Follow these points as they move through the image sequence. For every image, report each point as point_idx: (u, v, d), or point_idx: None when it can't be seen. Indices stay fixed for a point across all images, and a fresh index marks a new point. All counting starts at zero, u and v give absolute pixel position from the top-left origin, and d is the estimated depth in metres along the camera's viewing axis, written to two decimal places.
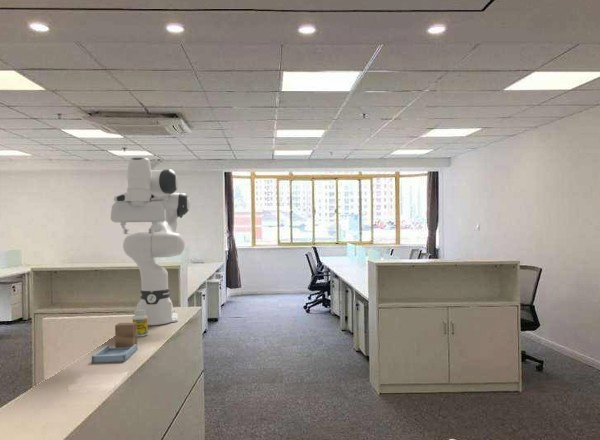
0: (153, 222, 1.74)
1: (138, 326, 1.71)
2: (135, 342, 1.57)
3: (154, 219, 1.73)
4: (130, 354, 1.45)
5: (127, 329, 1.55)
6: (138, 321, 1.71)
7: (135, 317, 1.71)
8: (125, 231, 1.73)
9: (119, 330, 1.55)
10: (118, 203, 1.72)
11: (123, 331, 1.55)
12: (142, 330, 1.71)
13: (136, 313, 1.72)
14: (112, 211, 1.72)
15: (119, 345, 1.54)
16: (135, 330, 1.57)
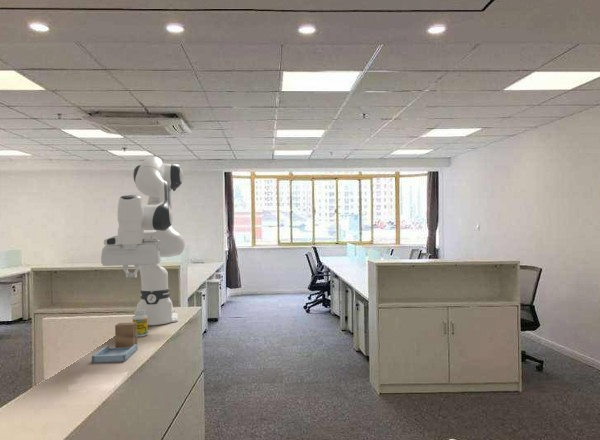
0: (136, 266, 1.63)
1: (138, 326, 1.71)
2: (135, 342, 1.57)
3: (147, 263, 1.63)
4: (130, 354, 1.45)
5: (127, 329, 1.55)
6: (138, 321, 1.71)
7: (135, 317, 1.71)
8: (128, 275, 1.63)
9: (119, 330, 1.55)
10: (108, 246, 1.61)
11: (123, 331, 1.55)
12: (142, 330, 1.71)
13: (136, 313, 1.72)
14: (102, 255, 1.61)
15: (119, 345, 1.54)
16: (135, 330, 1.57)
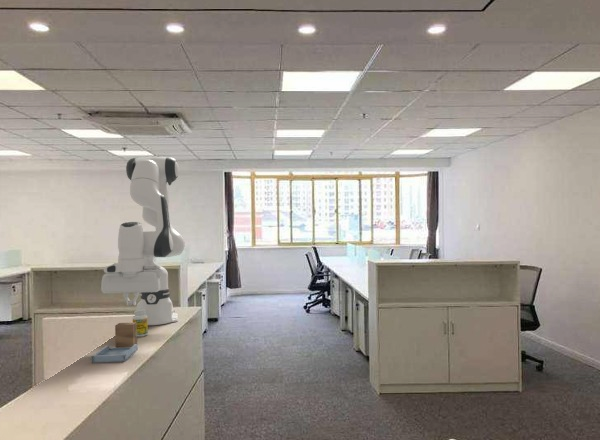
0: (135, 293, 1.62)
1: (138, 326, 1.71)
2: (135, 342, 1.57)
3: (147, 290, 1.62)
4: (130, 354, 1.45)
5: (127, 329, 1.55)
6: (138, 321, 1.71)
7: (135, 317, 1.71)
8: (128, 303, 1.62)
9: (119, 330, 1.55)
10: (108, 274, 1.60)
11: (123, 331, 1.55)
12: (142, 330, 1.71)
13: (136, 313, 1.72)
14: (102, 282, 1.61)
15: (119, 345, 1.54)
16: (135, 330, 1.57)
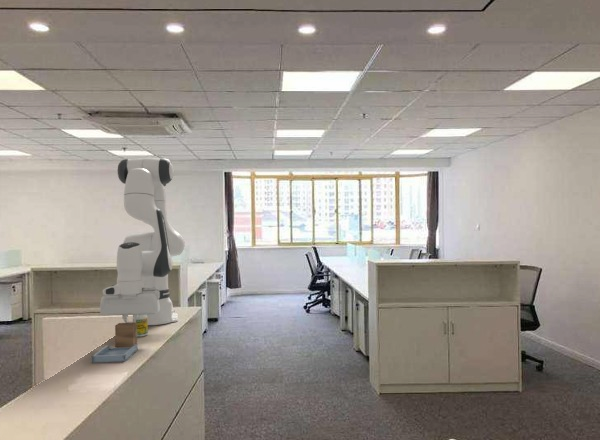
0: (134, 315, 1.61)
1: (138, 326, 1.71)
2: (135, 342, 1.57)
3: (147, 312, 1.60)
4: (130, 354, 1.45)
5: (127, 329, 1.55)
6: (138, 321, 1.71)
7: None
8: None
9: (119, 330, 1.55)
10: (107, 296, 1.59)
11: (123, 331, 1.55)
12: (142, 330, 1.71)
13: None
14: (101, 305, 1.59)
15: (119, 345, 1.54)
16: (135, 330, 1.57)
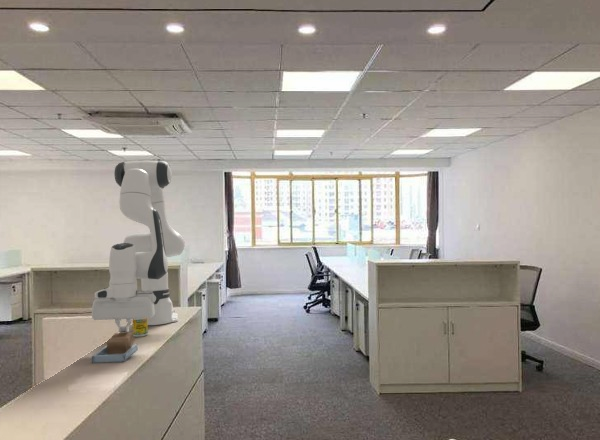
0: (128, 320, 1.53)
1: (138, 326, 1.71)
2: (132, 338, 1.53)
3: (141, 316, 1.53)
4: (130, 354, 1.45)
5: None
6: (138, 321, 1.71)
7: None
8: (121, 329, 1.53)
9: None
10: (99, 299, 1.51)
11: None
12: (142, 330, 1.71)
13: None
14: (93, 308, 1.52)
15: None
16: (128, 342, 1.49)
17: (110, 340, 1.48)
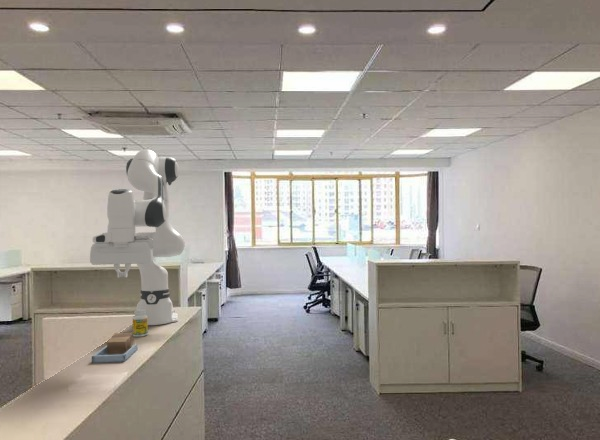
0: (126, 265, 1.53)
1: (138, 326, 1.71)
2: (132, 338, 1.53)
3: (139, 262, 1.53)
4: (130, 354, 1.45)
5: None
6: (138, 321, 1.71)
7: (135, 317, 1.71)
8: (119, 275, 1.53)
9: None
10: (98, 244, 1.51)
11: None
12: (142, 330, 1.71)
13: (136, 313, 1.72)
14: (91, 253, 1.51)
15: None
16: (128, 342, 1.49)
17: (110, 340, 1.48)
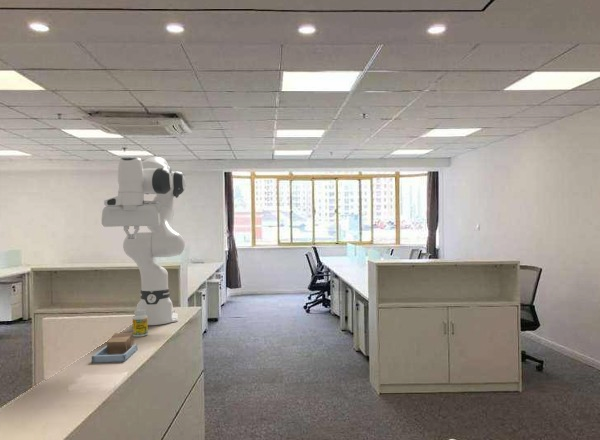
0: (135, 227, 1.64)
1: (138, 326, 1.71)
2: (132, 338, 1.53)
3: (147, 224, 1.64)
4: (130, 354, 1.45)
5: None
6: (138, 321, 1.71)
7: (135, 317, 1.71)
8: (128, 236, 1.64)
9: None
10: (109, 207, 1.62)
11: None
12: (142, 330, 1.71)
13: (136, 313, 1.72)
14: (103, 215, 1.62)
15: None
16: (128, 342, 1.49)
17: (110, 340, 1.48)
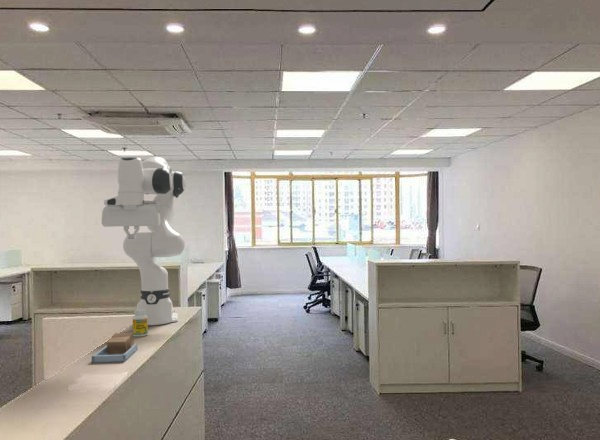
0: (135, 227, 1.64)
1: (138, 326, 1.71)
2: (132, 338, 1.53)
3: (147, 224, 1.64)
4: (130, 354, 1.45)
5: None
6: (138, 321, 1.71)
7: (135, 317, 1.71)
8: (128, 236, 1.64)
9: None
10: (109, 207, 1.62)
11: None
12: (142, 330, 1.71)
13: (136, 313, 1.72)
14: (103, 215, 1.62)
15: None
16: (128, 342, 1.49)
17: (110, 340, 1.48)
